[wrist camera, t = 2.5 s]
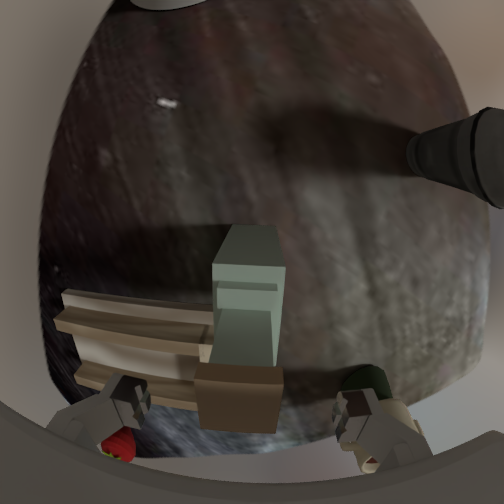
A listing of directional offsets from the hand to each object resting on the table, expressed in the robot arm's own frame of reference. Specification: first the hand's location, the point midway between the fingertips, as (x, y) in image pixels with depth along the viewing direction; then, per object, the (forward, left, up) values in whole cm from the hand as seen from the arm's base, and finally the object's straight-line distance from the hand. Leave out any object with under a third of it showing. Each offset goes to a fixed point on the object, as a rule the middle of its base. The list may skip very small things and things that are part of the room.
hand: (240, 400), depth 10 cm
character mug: (+16, +15, -17) cm, 28 cm away
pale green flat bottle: (0, 0, -17) cm, 17 cm away
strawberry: (+31, -20, -17) cm, 41 cm away
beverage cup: (-12, +17, -17) cm, 27 cm away
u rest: (+11, -13, -17) cm, 24 cm away
